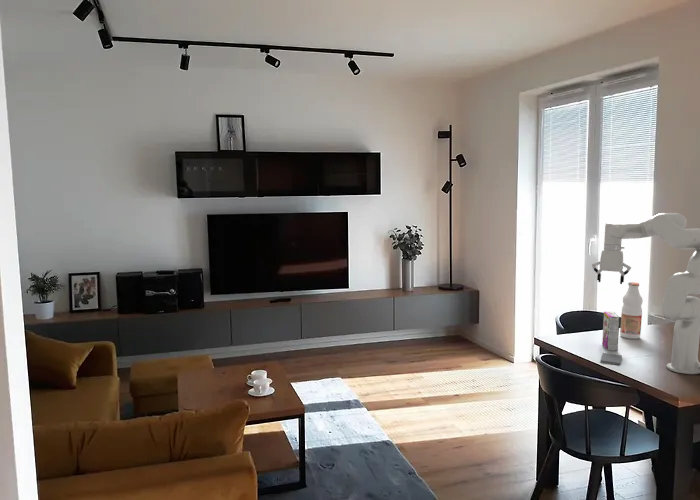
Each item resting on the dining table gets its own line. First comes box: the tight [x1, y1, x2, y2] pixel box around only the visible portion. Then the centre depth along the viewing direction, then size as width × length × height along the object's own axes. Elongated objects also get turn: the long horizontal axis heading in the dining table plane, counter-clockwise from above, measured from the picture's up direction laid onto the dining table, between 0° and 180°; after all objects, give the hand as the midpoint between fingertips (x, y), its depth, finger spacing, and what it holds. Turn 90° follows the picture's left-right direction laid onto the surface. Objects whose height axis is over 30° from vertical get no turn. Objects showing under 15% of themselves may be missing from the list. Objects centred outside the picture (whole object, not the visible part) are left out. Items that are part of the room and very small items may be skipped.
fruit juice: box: [619, 281, 644, 340], centre depth 297 cm, size 9×9×28 cm
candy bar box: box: [601, 311, 621, 352], centre depth 278 cm, size 11×5×16 cm, turn 168°
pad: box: [600, 352, 623, 366], centre depth 259 cm, size 8×13×1 cm, turn 153°
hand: (610, 282), depth 282 cm, fingers open, 9 cm apart
